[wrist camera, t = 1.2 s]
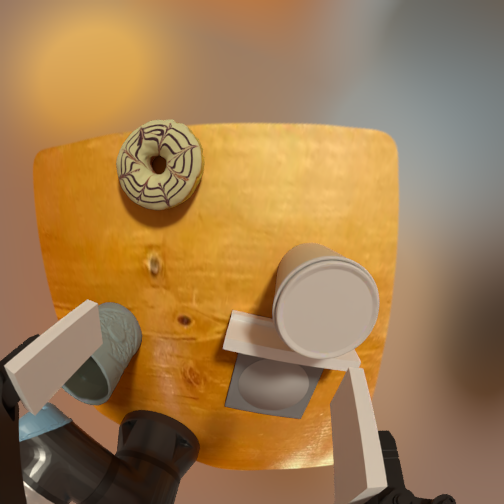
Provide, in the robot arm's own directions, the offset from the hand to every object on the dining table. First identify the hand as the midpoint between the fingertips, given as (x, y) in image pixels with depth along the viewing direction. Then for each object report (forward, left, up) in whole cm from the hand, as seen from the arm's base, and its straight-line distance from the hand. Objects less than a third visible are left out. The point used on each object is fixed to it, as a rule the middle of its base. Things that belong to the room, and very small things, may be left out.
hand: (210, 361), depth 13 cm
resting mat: (-17, -8, -21) cm, 28 cm away
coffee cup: (0, -8, -21) cm, 23 cm away
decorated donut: (+9, +12, -22) cm, 26 cm away
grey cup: (-15, +16, -21) cm, 31 cm away
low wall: (-8, -8, -21) cm, 24 cm away
